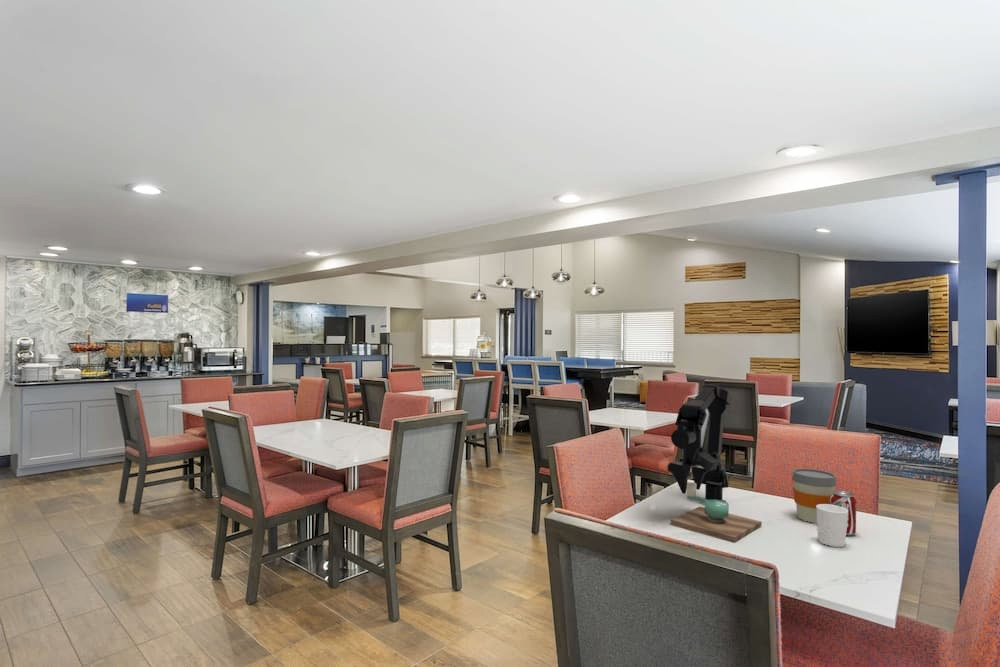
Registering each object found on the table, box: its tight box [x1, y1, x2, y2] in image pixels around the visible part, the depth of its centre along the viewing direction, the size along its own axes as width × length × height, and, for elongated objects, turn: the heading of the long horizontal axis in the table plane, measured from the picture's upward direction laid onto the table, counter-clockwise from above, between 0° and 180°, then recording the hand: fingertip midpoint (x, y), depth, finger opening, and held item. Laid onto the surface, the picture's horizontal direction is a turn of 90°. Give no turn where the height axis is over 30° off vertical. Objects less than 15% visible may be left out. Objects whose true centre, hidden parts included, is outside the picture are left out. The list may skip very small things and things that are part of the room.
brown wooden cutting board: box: [670, 505, 763, 543], centre depth 172 cm, size 20×20×3 cm
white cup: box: [816, 504, 848, 548], centre depth 159 cm, size 8×8×10 cm
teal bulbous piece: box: [686, 481, 730, 518], centre depth 175 cm, size 14×7×8 cm, turn 36°
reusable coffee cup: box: [792, 468, 837, 524], centre depth 180 cm, size 13×13×15 cm
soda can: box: [830, 490, 857, 536], centre depth 168 cm, size 7×7×12 cm
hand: (690, 491), depth 179 cm, fingers open, 8 cm apart
